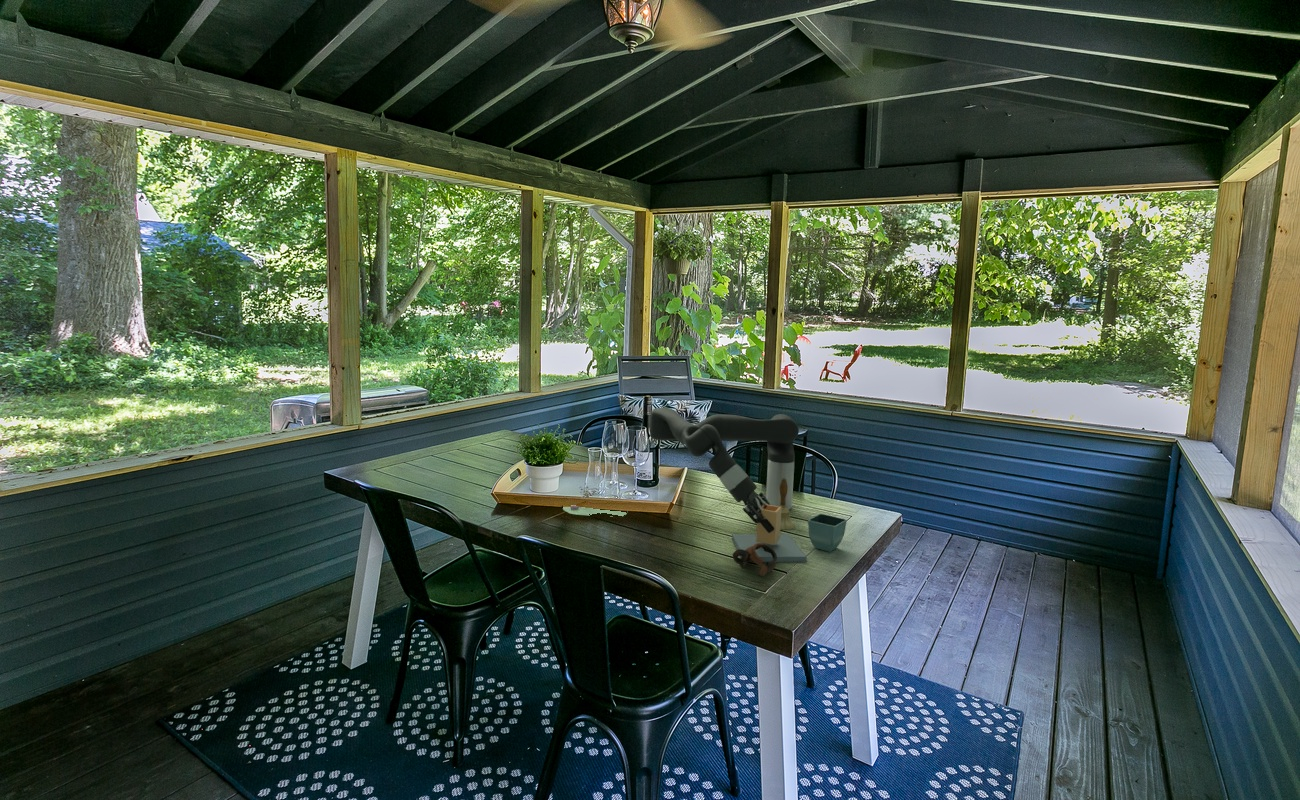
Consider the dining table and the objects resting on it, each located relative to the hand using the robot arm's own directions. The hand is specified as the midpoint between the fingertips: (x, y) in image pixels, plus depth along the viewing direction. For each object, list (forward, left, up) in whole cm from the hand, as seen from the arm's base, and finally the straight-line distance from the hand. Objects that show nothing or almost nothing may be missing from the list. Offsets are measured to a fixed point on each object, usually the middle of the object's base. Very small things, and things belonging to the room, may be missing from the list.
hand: (774, 527), depth 196 cm
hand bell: (-22, +8, -7) cm, 25 cm away
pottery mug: (+13, -9, -7) cm, 18 cm away
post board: (-1, -2, -7) cm, 7 cm away
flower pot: (-2, +16, -7) cm, 18 cm away
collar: (-1, -2, -4) cm, 5 cm away
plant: (-41, -53, -8) cm, 67 cm away
